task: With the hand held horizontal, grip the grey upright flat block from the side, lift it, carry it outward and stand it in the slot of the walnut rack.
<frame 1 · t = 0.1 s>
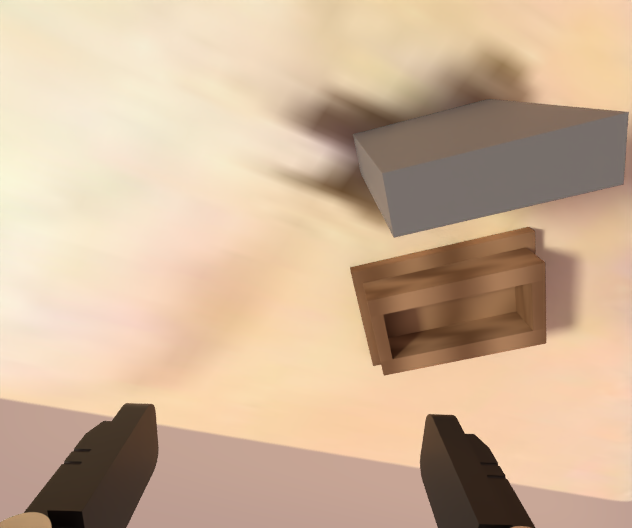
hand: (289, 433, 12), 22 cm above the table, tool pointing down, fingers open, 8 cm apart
rack: (444, 298, 35), on the table
grey upright flat block: (422, 137, 30), on the table
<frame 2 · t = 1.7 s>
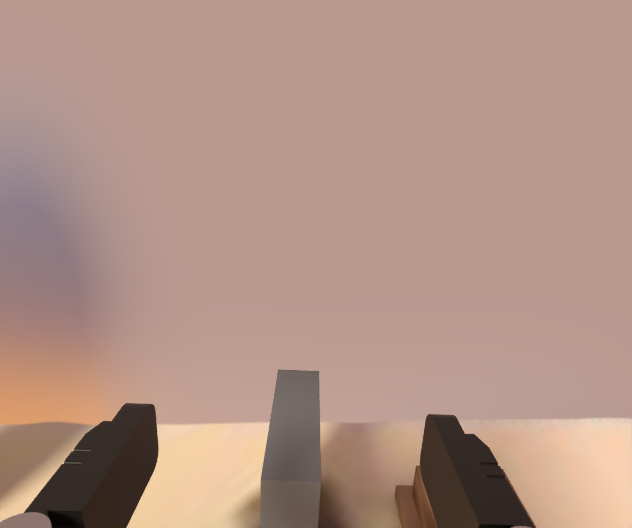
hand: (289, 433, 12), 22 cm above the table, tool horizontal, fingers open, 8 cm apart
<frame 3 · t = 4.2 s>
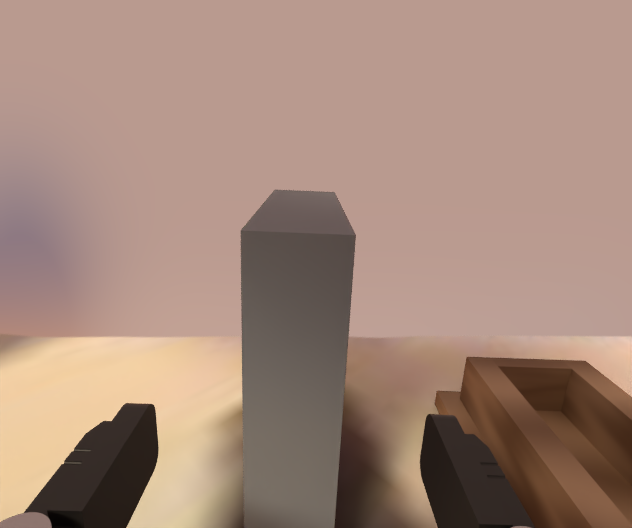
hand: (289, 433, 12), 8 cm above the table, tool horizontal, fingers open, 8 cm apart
rack: (581, 502, 19), on the table
grey upright flat block: (292, 495, 19), on the table
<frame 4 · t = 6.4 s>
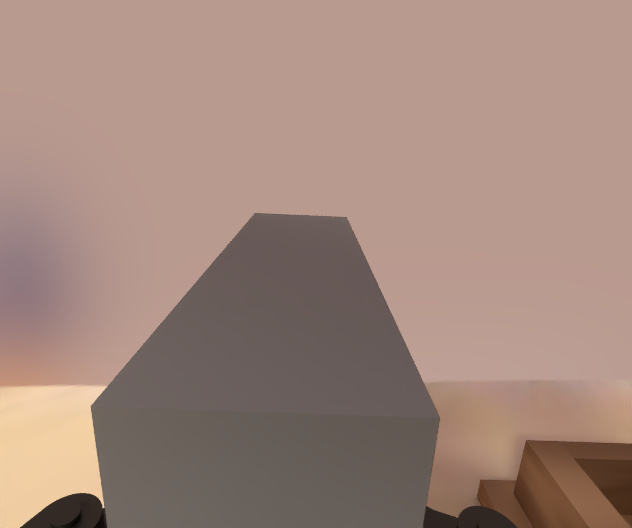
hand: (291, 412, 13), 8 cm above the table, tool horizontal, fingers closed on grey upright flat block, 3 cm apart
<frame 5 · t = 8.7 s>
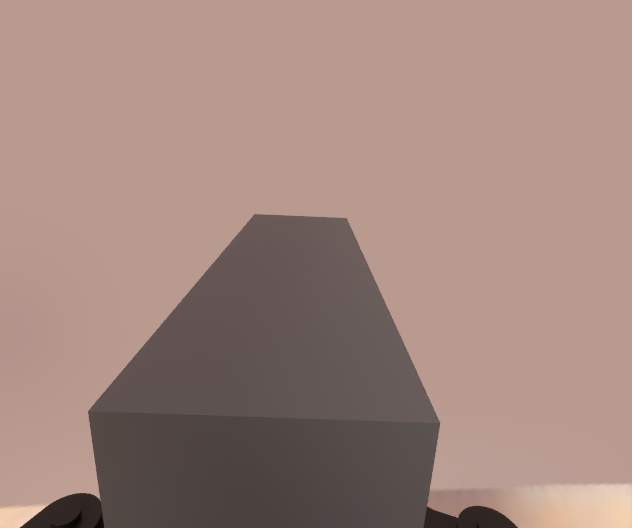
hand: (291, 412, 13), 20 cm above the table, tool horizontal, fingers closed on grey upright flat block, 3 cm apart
when the fingers open (10 cm above the table, at t = 10.9 s): grey upright flat block stays where it is, resting on rack.
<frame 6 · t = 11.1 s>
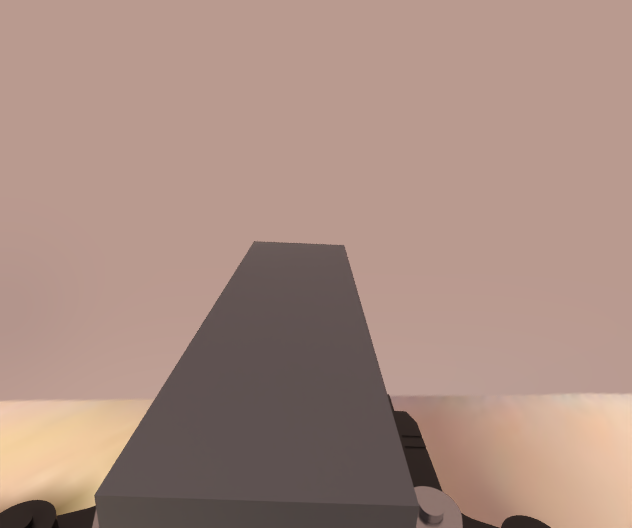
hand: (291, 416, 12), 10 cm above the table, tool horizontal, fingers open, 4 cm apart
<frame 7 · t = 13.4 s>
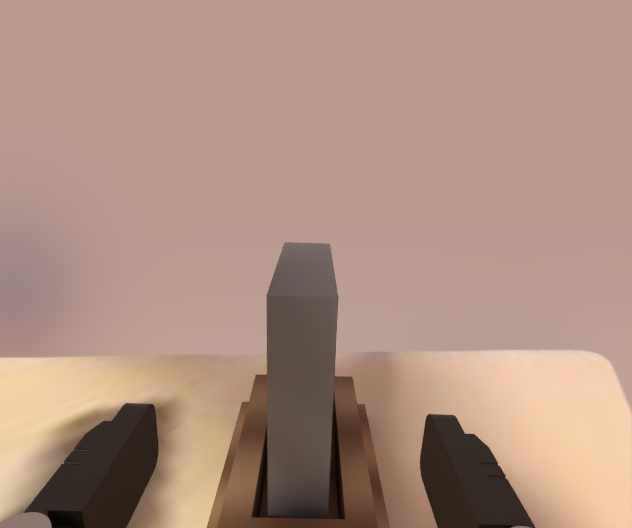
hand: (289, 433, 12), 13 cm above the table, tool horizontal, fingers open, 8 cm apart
rack: (300, 487, 26), on the table
grey upright flat block: (300, 475, 25), point 1 cm above the table, touching rack
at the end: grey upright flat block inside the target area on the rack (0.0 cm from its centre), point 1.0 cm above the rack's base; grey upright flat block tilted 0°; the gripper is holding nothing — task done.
